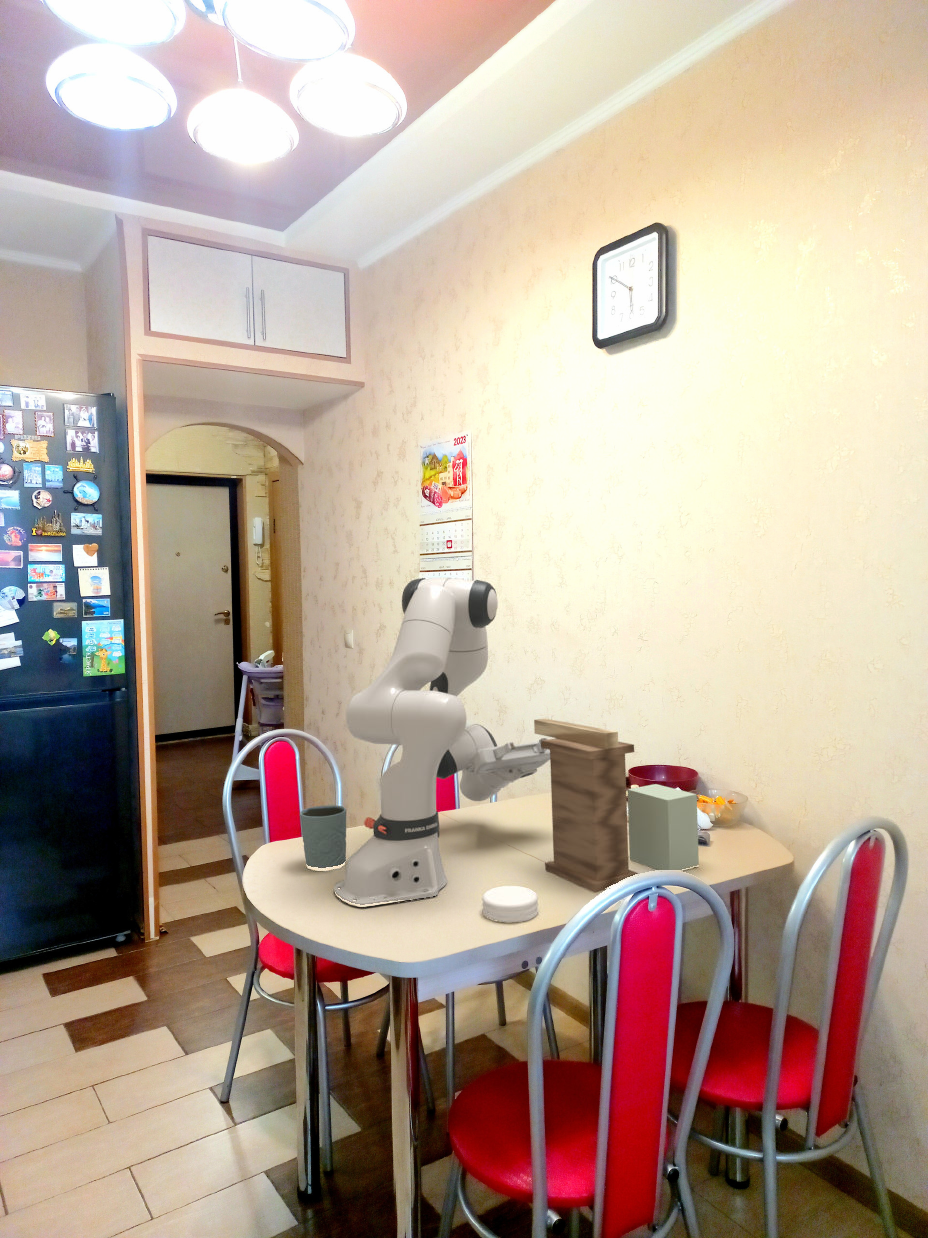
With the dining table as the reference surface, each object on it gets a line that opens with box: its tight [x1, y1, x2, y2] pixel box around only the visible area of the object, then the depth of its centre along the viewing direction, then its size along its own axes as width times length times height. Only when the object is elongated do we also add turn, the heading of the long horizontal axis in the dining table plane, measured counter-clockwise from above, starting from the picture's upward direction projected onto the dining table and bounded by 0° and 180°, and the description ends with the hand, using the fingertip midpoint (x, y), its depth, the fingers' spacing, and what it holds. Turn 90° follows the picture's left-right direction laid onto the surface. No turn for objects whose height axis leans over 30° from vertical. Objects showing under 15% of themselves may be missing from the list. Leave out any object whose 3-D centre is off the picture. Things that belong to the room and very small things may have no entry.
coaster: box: [481, 885, 539, 924], centre depth 149 cm, size 10×10×4 cm
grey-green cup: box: [299, 804, 347, 868], centre depth 180 cm, size 10×10×12 cm
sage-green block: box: [627, 783, 700, 872], centre depth 173 cm, size 8×12×15 cm, turn 30°
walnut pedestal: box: [541, 738, 639, 893], centre depth 167 cm, size 11×16×27 cm
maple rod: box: [533, 717, 619, 749], centre depth 170 cm, size 3×24×3 cm, turn 30°
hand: (529, 743), depth 184 cm, fingers open, 8 cm apart
